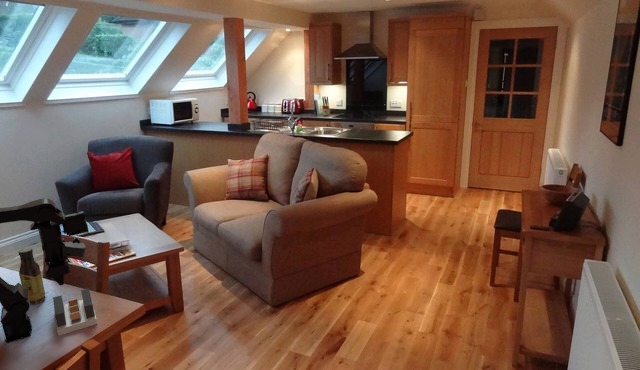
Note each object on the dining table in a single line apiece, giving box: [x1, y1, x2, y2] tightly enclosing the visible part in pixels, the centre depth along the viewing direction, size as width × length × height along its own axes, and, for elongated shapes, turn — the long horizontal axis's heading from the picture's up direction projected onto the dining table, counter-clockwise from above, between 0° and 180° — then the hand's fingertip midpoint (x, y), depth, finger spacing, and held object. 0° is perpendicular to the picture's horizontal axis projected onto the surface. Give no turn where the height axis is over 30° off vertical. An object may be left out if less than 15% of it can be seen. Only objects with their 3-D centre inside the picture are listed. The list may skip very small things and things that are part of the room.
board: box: [56, 299, 98, 336], centre depth 147 cm, size 15×11×2 cm
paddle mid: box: [69, 305, 79, 313], centre depth 146 cm, size 3×1×2 cm, turn 122°
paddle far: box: [67, 297, 79, 307], centre depth 150 cm, size 3×1×2 cm, turn 122°
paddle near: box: [70, 311, 81, 320], centre depth 143 cm, size 3×1×2 cm, turn 122°
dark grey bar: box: [52, 295, 66, 328], centre depth 144 cm, size 2×12×4 cm, turn 32°
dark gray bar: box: [80, 287, 96, 319], centre depth 148 cm, size 2×12×4 cm, turn 32°
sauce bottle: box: [18, 246, 46, 305], centre depth 155 cm, size 7×6×20 cm
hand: (61, 284), depth 142 cm, fingers closed
